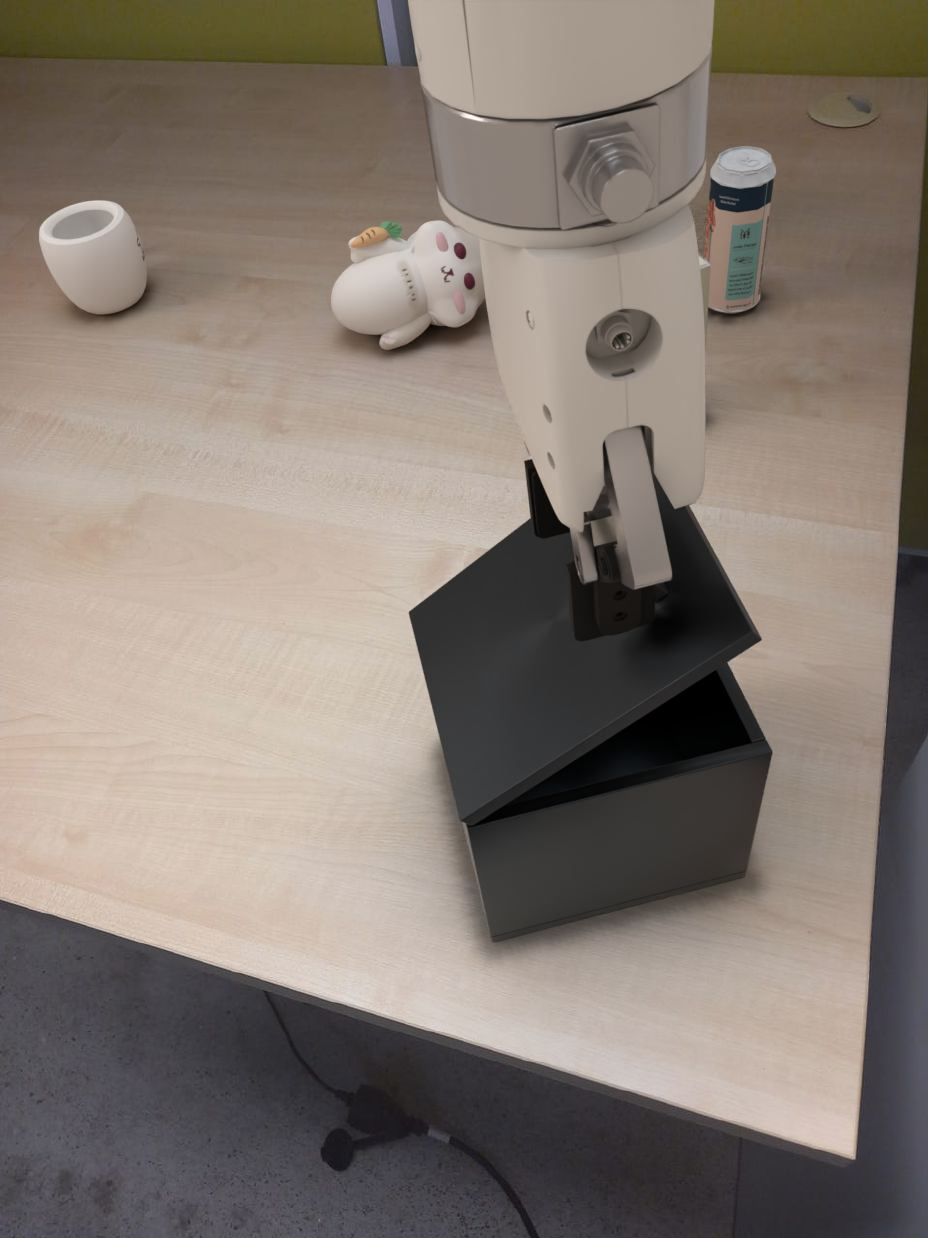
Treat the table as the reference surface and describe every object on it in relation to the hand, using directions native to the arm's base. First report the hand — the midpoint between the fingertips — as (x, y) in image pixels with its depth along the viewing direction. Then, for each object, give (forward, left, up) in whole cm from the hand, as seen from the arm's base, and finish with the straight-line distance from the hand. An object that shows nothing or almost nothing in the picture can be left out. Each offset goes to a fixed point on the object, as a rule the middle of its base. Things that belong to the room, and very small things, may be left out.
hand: (590, 571), depth 41 cm
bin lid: (+1, -1, -3) cm, 3 cm away
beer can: (-43, -24, -19) cm, 53 cm away
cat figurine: (-25, -42, -19) cm, 52 cm away
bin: (+1, 0, -19) cm, 19 cm away
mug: (-9, -70, -19) cm, 73 cm away
